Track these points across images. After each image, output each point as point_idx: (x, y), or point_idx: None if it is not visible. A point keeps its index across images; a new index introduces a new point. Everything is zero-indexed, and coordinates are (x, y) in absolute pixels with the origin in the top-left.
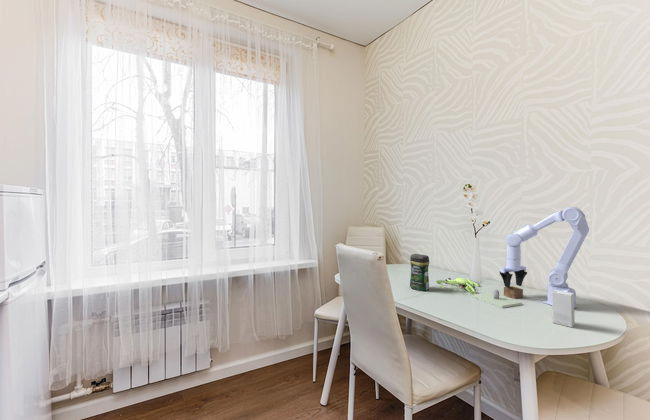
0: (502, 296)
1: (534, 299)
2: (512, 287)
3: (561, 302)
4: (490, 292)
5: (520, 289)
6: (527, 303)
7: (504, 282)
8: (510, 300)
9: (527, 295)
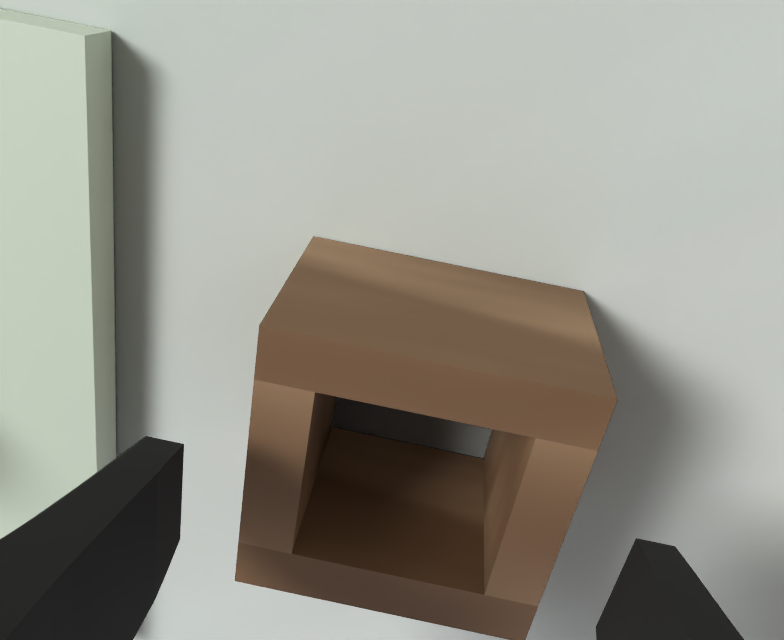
0: (60, 357)
1: (571, 628)
2: (532, 425)
3: None
4: (38, 29)
5: (450, 622)
6: (255, 633)
7: (63, 520)
8: (8, 529)
9: (750, 493)
